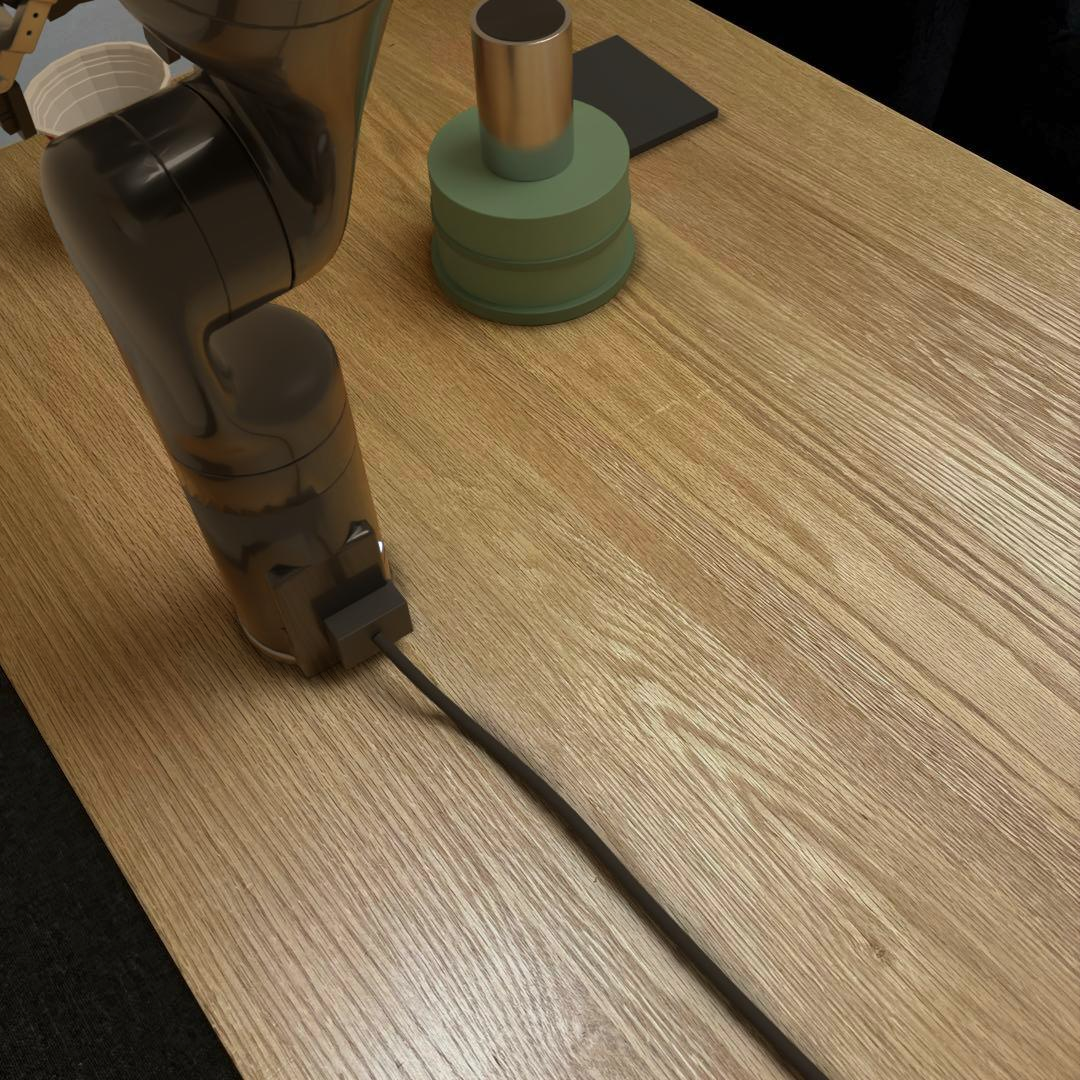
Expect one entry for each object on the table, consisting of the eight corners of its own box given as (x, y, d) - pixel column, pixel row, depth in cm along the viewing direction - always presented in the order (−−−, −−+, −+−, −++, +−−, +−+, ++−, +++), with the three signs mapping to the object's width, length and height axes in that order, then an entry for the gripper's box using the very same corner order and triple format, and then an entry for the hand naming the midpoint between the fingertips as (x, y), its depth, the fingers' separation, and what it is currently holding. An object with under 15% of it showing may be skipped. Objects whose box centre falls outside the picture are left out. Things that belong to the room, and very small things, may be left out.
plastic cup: (61, 202, 95) (0, 66, 86) (190, 160, 98) (146, 23, 88) (96, 282, 90) (35, 145, 80) (232, 235, 92) (190, 97, 82)
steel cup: (592, 158, 82) (592, 20, 74) (515, 194, 80) (506, 56, 72) (539, 114, 85) (534, -23, 77) (464, 147, 83) (450, 10, 75)
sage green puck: (676, 268, 88) (683, 165, 81) (504, 356, 83) (496, 255, 76) (558, 167, 96) (555, 64, 88) (395, 242, 91) (378, 140, 84)
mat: (718, 116, 99) (718, 108, 98) (601, 171, 95) (601, 163, 94) (617, 42, 106) (617, 34, 105) (504, 90, 102) (504, 82, 102)
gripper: (-108, -79, 43) (14, 204, 58) (216, -221, 48) (252, 73, 63) (-219, -202, 45) (-73, 105, 60) (107, -328, 50) (167, -16, 65)
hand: (94, 88), depth 61 cm, fingers open, 8 cm apart
